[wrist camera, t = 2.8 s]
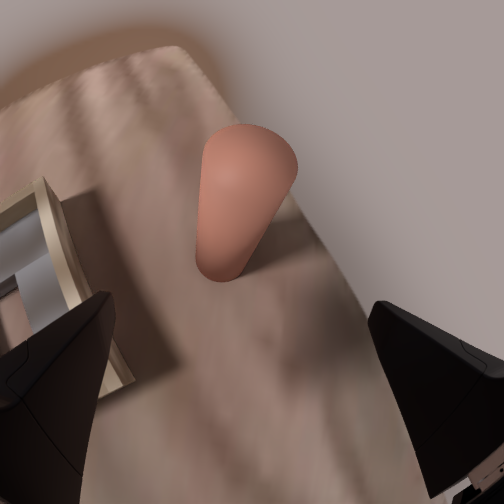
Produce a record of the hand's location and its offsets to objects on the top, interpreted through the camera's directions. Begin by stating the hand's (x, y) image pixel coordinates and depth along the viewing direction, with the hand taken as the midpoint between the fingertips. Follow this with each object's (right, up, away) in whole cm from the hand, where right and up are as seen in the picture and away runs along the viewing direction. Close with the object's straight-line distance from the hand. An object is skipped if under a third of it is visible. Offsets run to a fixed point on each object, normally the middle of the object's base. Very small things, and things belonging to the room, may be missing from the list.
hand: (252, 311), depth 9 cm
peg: (-2, +1, +13) cm, 13 cm away
